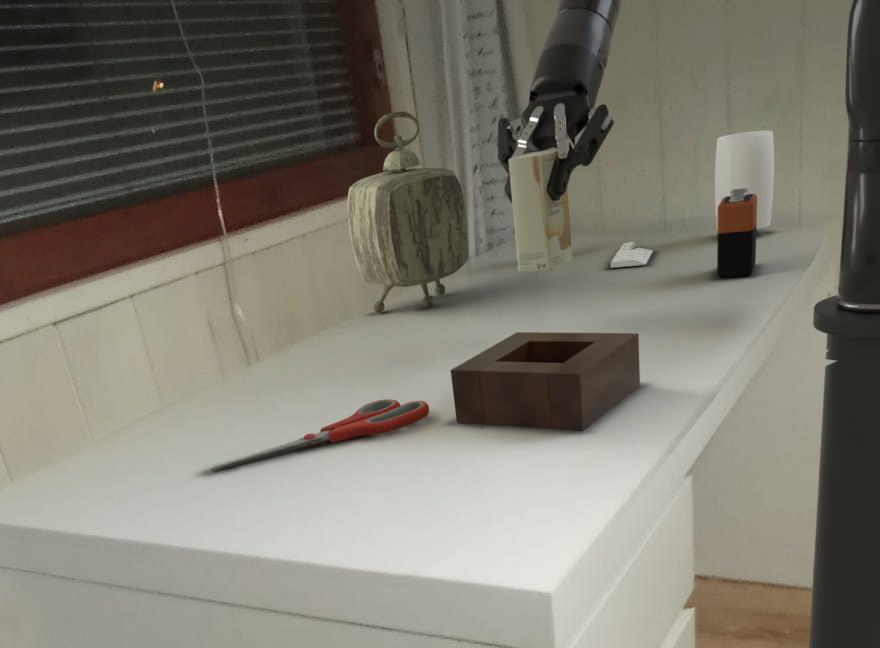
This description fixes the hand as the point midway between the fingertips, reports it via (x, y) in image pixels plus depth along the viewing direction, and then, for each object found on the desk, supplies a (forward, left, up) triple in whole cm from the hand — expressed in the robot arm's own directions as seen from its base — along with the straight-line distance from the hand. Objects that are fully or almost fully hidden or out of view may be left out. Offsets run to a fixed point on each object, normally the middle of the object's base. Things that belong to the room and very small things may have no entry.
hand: (532, 197), depth 110 cm
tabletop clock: (+26, -14, -15) cm, 33 cm away
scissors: (+3, +38, -15) cm, 41 cm away
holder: (-13, +24, -15) cm, 31 cm away
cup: (-6, -57, -15) cm, 59 cm away
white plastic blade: (+6, -43, -15) cm, 46 cm away
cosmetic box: (0, -2, -8) cm, 8 cm away
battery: (-13, -30, -15) cm, 36 cm away
